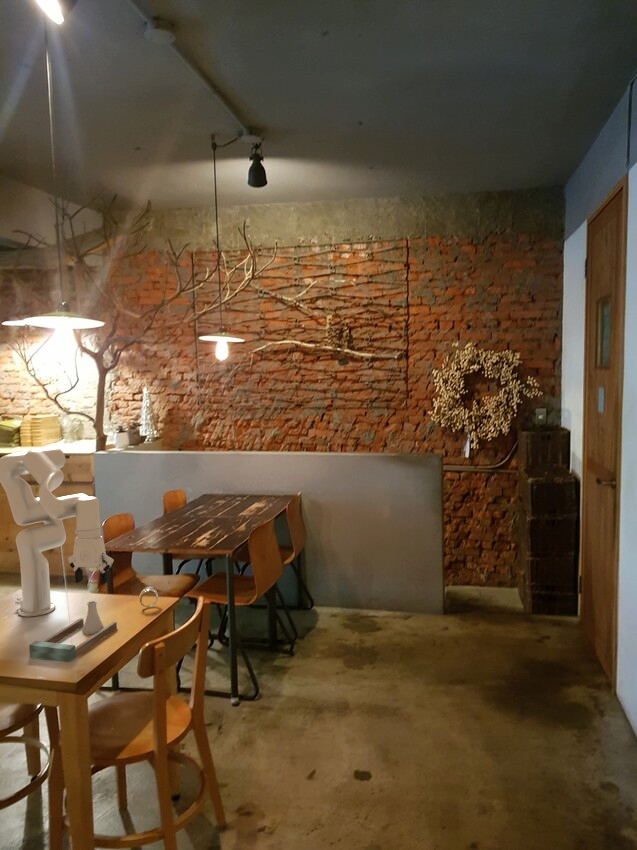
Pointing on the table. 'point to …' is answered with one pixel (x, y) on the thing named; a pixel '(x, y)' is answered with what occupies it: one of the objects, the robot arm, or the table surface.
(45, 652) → the guide channel
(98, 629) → the flask
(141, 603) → the ring
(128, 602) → the table surface
